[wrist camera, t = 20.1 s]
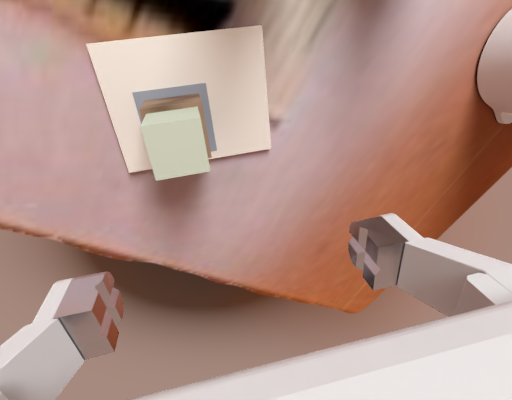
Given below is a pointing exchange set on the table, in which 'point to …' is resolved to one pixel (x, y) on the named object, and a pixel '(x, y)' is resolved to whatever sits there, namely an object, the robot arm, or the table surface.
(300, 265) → the table surface
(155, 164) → the sage cube
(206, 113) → the white flat board
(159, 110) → the walnut cube
